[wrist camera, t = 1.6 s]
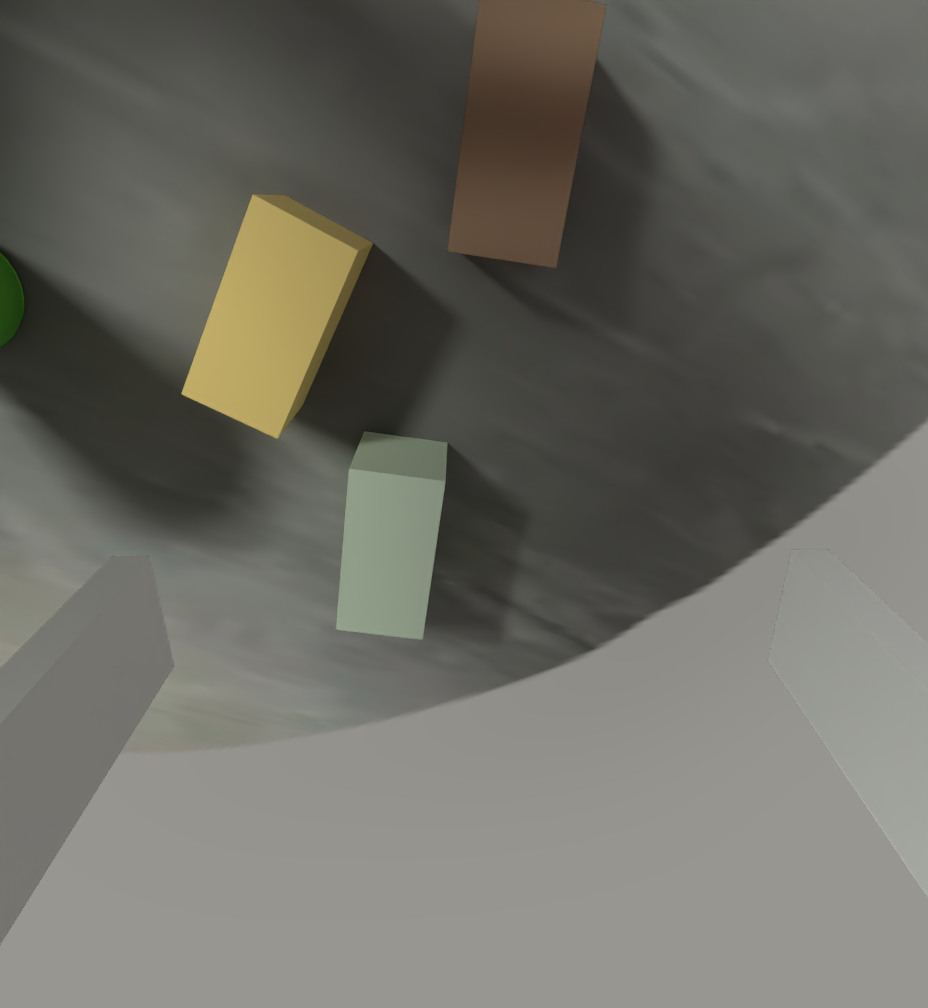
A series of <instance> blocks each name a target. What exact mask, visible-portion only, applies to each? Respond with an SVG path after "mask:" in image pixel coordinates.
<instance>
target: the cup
mask: <svg viewBox="0 0 928 1008" xmlns="http://www.w3.org/2000/svg"><path fill="white" fill-rule="evenodd" d="M23 314H24V295H23V290H22V285H21V283H20V281H19V278H18V276H17V274H16V272H15V270H14V269H13V267H12V266H11V264H10V263H9V261H8V260H7V259H6V258H5V257H4V256H3V255H2V254H1V253H0V347H1V346H3V345H4V344H5V343H7V342H8V341H10V340H11V338H12V337H13V336H14V334H15V333H16V332H17V330H18V328H19V325H20V323H21V320H22V317H23Z"/></svg>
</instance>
